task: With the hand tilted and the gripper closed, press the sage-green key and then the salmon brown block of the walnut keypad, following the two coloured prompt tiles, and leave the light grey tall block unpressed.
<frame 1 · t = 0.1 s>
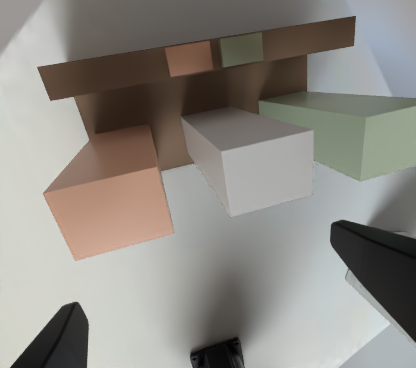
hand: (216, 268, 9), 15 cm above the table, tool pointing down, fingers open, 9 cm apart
sage key: (323, 123, 17), point 7 cm above the table, slide at 0.0 cm
light grey tall block: (229, 145, 16), point 7 cm above the table, slide at 0.0 cm
supplement box: (373, 254, 33), on the table
salmon brown block: (123, 170, 15), point 7 cm above the table, slide at 0.0 cm
keypad base: (201, 107, 21), on the table
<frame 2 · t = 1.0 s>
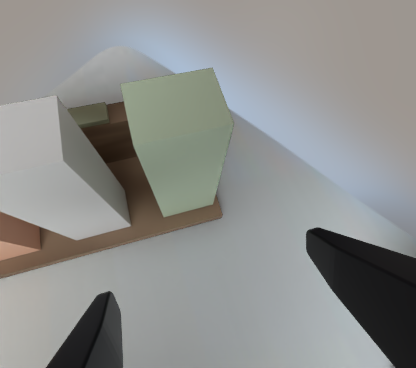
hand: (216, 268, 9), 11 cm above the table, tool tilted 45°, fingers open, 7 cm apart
sage key: (181, 163, 15), point 7 cm above the table, slide at 0.0 cm
light grey tall block: (69, 189, 14), point 7 cm above the table, slide at 0.0 cm
keypad base: (103, 197, 21), on the table
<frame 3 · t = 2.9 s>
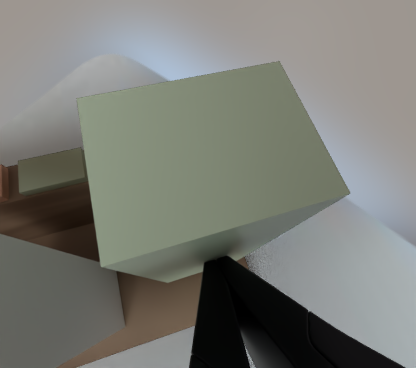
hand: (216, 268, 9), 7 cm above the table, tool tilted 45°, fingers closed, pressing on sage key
sage key: (198, 221, 9), point 7 cm above the table, slide at 1.4 cm, touching gripper
light grey tall block: (9, 321, 8), point 7 cm above the table, slide at 0.0 cm
keypad base: (84, 274, 15), on the table
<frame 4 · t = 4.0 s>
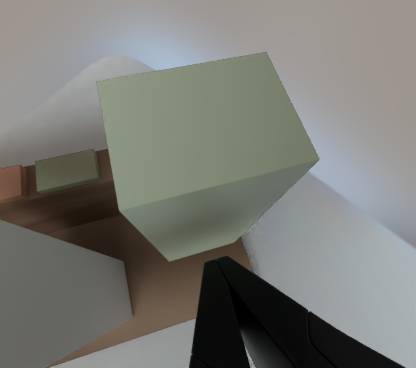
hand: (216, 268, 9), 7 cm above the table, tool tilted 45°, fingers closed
sage key: (197, 200, 10), point 7 cm above the table, slide at 2.3 cm
light grey tall block: (31, 308, 9), point 7 cm above the table, slide at 0.0 cm
keypad base: (93, 268, 15), on the table
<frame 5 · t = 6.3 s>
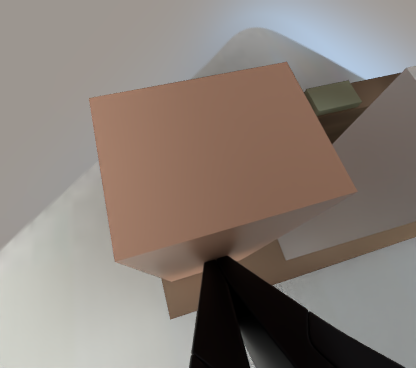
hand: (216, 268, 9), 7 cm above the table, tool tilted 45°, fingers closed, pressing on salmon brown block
light grey tall block: (362, 195, 10), point 7 cm above the table, slide at 0.0 cm
salmon brown block: (203, 220, 10), point 7 cm above the table, slide at 0.8 cm, touching gripper
keypad base: (288, 205, 17), on the table
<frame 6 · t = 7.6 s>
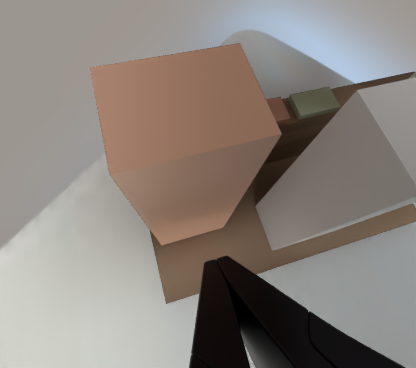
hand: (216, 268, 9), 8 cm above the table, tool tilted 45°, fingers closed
light grey tall block: (336, 192, 12), point 7 cm above the table, slide at 0.0 cm
salmon brown block: (185, 182, 11), point 7 cm above the table, slide at 2.3 cm
keypad base: (275, 200, 18), on the table
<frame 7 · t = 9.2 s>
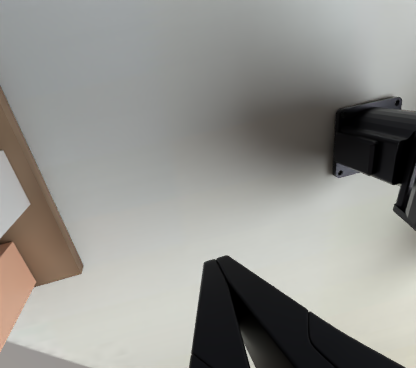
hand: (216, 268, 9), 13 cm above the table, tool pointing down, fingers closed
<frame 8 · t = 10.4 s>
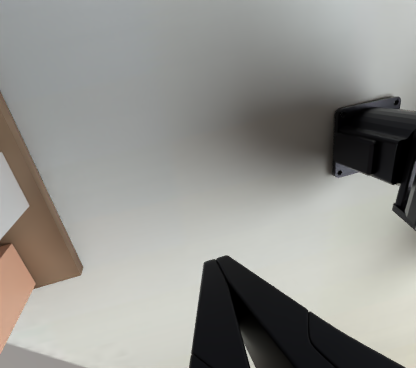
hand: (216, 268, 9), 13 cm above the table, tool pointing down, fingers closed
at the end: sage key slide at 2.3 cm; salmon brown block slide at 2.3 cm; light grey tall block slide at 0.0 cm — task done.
